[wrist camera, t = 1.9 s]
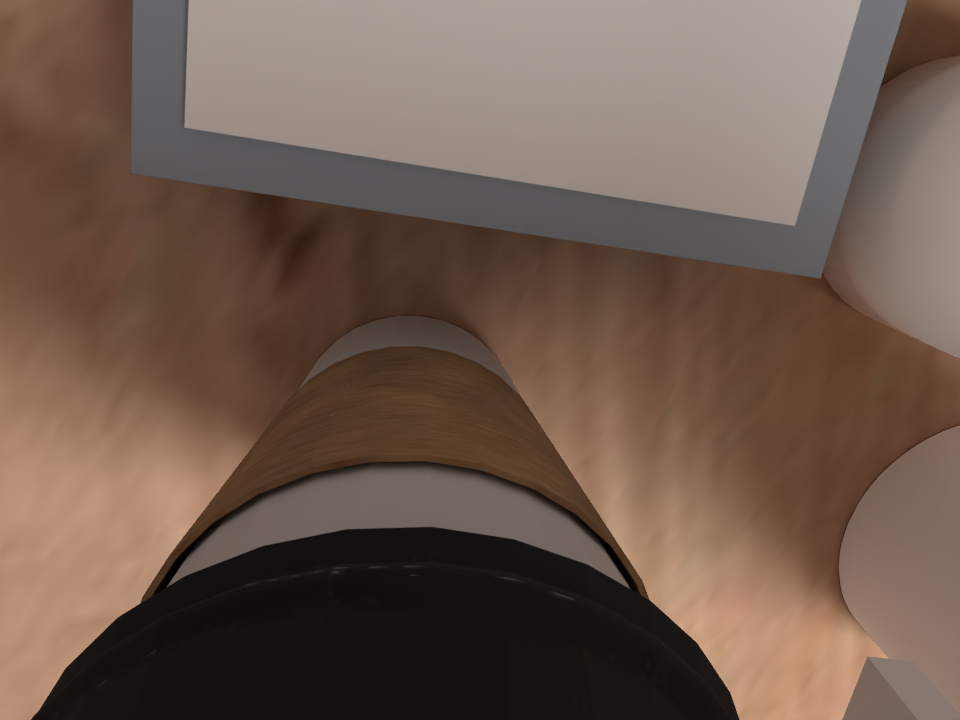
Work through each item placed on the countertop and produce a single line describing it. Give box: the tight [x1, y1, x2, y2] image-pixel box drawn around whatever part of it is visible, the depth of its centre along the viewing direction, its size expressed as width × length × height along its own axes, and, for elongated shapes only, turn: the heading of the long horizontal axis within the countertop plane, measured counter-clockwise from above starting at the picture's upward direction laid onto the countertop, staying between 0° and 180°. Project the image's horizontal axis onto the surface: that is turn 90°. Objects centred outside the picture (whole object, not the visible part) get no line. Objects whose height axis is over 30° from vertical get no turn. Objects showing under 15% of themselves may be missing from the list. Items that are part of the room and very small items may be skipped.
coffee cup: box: [31, 316, 739, 720], centre depth 13 cm, size 8×8×15 cm
